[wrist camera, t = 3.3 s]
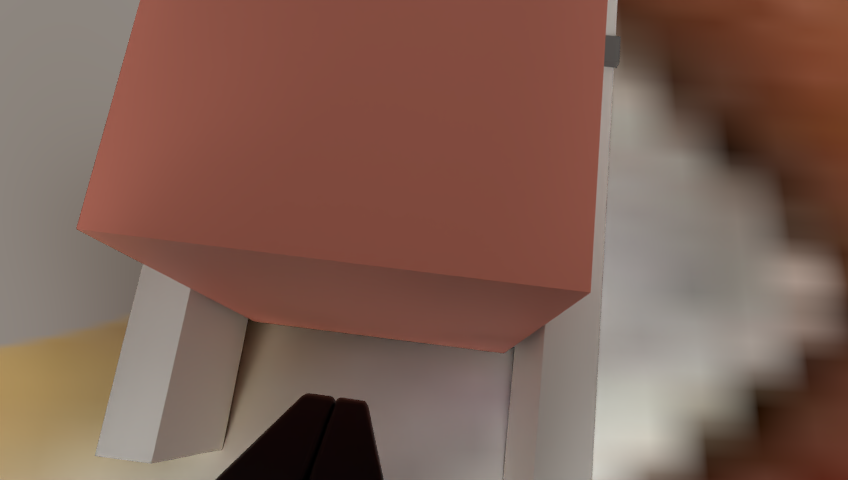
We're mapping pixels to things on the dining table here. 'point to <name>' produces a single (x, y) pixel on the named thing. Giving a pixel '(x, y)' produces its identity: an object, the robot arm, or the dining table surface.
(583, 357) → the plug guide
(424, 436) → the dining table surface
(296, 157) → the plug
